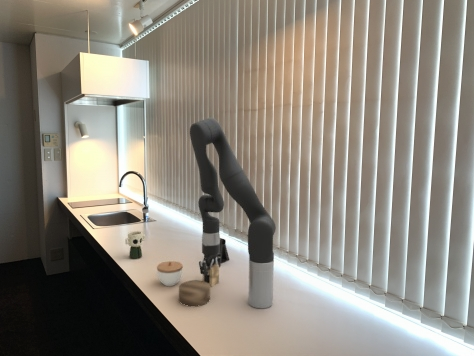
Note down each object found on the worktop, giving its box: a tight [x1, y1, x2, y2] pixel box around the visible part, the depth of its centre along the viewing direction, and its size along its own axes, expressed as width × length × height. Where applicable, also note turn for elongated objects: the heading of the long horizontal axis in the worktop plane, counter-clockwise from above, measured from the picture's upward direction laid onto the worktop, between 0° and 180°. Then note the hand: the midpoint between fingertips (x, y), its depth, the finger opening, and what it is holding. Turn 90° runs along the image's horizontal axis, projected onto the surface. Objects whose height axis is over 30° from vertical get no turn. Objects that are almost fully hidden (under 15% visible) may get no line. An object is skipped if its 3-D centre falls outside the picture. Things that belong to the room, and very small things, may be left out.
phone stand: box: [218, 237, 230, 264], centre depth 176 cm, size 9×6×12 cm, turn 138°
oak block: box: [202, 265, 220, 288], centre depth 150 cm, size 5×5×8 cm
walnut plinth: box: [178, 279, 211, 307], centre depth 136 cm, size 12×12×5 cm
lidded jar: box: [156, 260, 184, 287], centre depth 150 cm, size 11×11×9 cm
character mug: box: [125, 230, 146, 259], centre depth 180 cm, size 11×7×13 cm, turn 136°
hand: (210, 280), depth 150 cm, fingers closed on oak block, 5 cm apart
